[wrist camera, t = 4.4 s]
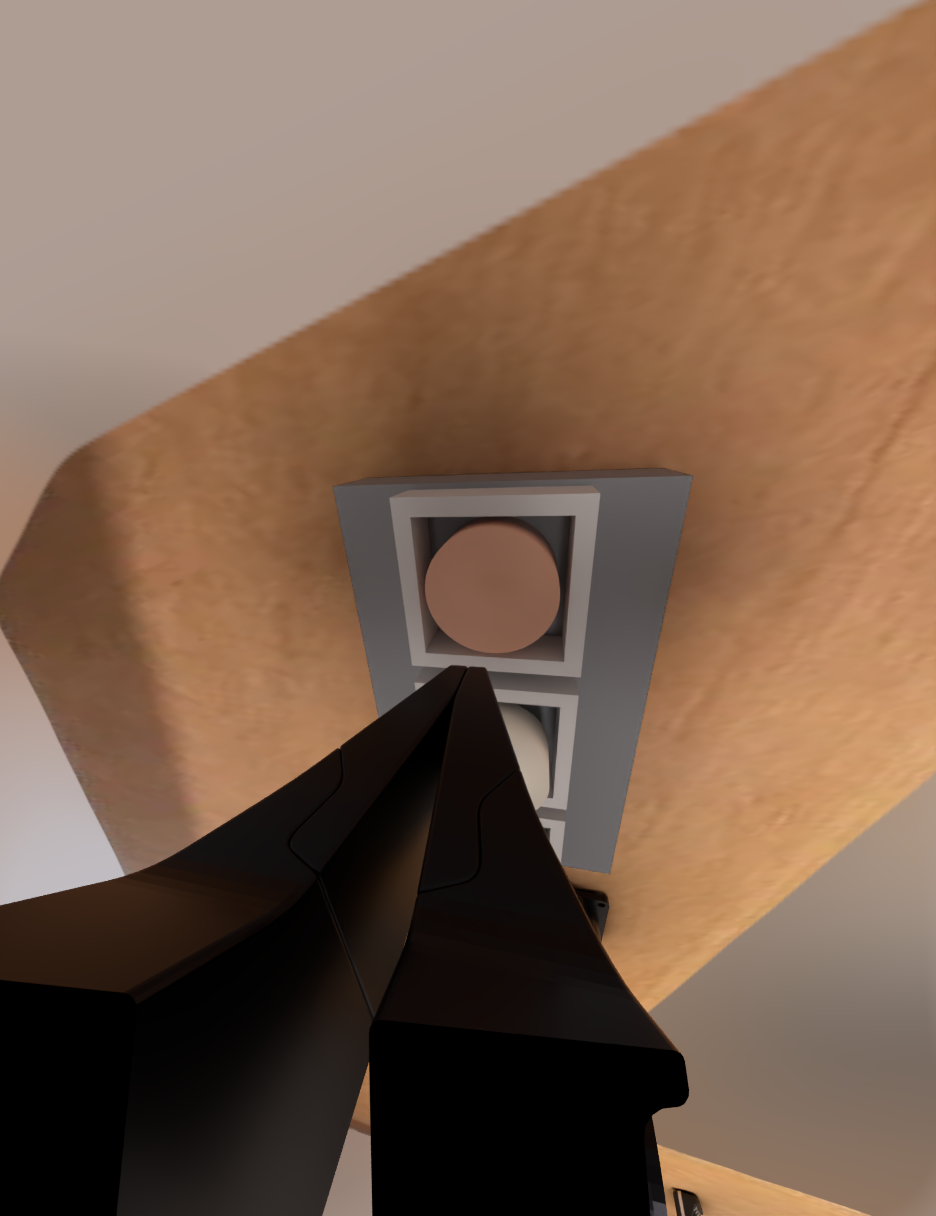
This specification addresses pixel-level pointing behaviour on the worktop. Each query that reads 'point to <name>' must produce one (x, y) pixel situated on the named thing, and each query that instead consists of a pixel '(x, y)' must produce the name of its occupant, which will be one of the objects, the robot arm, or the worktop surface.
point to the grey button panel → (573, 644)
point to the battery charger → (687, 1204)
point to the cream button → (529, 749)
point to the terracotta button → (494, 585)
